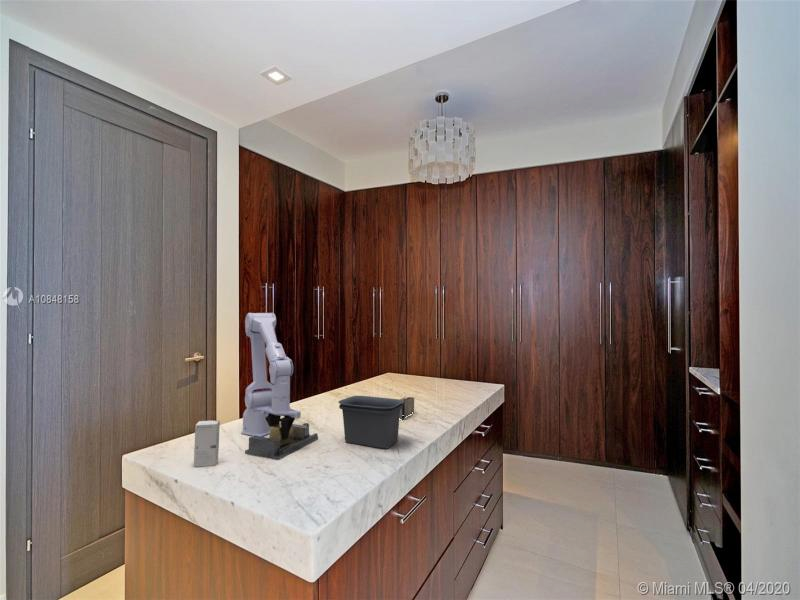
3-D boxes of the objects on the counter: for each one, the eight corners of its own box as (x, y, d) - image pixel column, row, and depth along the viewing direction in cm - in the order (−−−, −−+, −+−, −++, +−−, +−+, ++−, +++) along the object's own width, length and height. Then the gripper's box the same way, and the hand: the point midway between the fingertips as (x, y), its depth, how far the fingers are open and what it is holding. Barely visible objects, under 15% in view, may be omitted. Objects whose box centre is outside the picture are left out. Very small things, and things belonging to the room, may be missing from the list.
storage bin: (333, 444, 136) (334, 401, 137) (357, 431, 150) (357, 393, 151) (389, 454, 127) (390, 408, 128) (409, 439, 142) (409, 398, 142)
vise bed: (244, 453, 127) (245, 437, 127) (287, 434, 146) (287, 420, 146) (278, 460, 122) (278, 442, 122) (317, 439, 141) (318, 424, 141)
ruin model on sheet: (402, 421, 165) (403, 398, 165) (396, 420, 166) (396, 397, 167) (415, 415, 175) (415, 392, 175) (408, 414, 176) (409, 392, 176)
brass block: (269, 445, 130) (270, 426, 131) (283, 439, 137) (284, 421, 137) (278, 446, 129) (278, 427, 129) (292, 440, 135) (292, 422, 136)
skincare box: (193, 467, 116) (193, 425, 116) (197, 461, 120) (197, 420, 120) (216, 465, 117) (216, 423, 117) (219, 459, 122) (220, 419, 122)
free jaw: (280, 436, 140) (280, 424, 140) (295, 429, 148) (295, 418, 148) (304, 440, 136) (304, 428, 136) (318, 433, 144) (318, 422, 144)
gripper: (306, 395, 134) (305, 437, 133) (271, 392, 139) (271, 431, 139) (293, 400, 127) (292, 443, 127) (256, 396, 133) (256, 437, 132)
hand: (280, 437), depth 132 cm, fingers closed on brass block, 3 cm apart
